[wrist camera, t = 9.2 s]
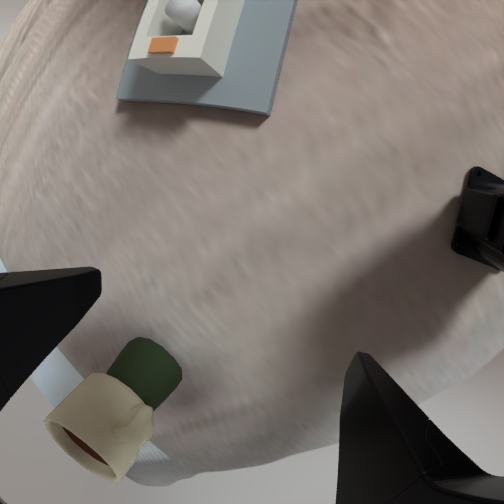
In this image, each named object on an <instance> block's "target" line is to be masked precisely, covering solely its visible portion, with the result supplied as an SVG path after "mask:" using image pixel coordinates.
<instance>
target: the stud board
mask: <svg viewBox="0 0 504 504" xmlns="http://www.w3.org/2000/svg"><path fill="white" fill-rule="evenodd" d="M297 1H298V0H245V1H244V5H243V8H242V11H241V14H240V18H239V21H238V24H237V28H236V31H235V34H234V38H233V41H232V45H231V49H230V52H229V56H228V60H227V63H226V67H225V71H224V75H223V77H216V76H202V75H183V74H158V73H156V72H154V71H152V70H150V69H148V68H146V67H143V66H141V65H139V64H137V63H135V62H133V61H131V60H128V57H129V54H130V50H131V47H132V44H133V41H134V38H135V35H136V32H137V29H138V26H139V24H140V21H141V18H142V16H143V13H144V10H145V8H146V5H147V3H148V0H147V2H146V4H145V7H144V9H143V12H142V14H141V17H140V20H139V23H138V25H137V28H136V31H135V34H134V37H133V40H132V43H131V46H130V49H129V52H128V55H127V59H126V62H125V66H124V69H123V73H122V77H121V80H120V84H119V88H118V92H117V97H116V99H119V100H123V101H143V102H163V103H177V104H189V105H199V106H208V107H216V108H224V109H231V110H237V111H244V112H250V113H256V114H261V115H267V116H270V114H271V110H272V105H273V101H274V97H275V92H276V88H277V84H278V79H279V75H280V71H281V67H282V62H283V58H284V54H285V50H286V46H287V42H288V37H289V33H290V29H291V25H292V21H293V17H294V13H295V9H296V5H297ZM202 5H203V2H198V1H197V0H170V1H169V2H168V3H167V5H166V7H165V13H166V15H167V16H168V17H170V18H171V19H172V20H173V21H174V22H175V23H177V24H178V25H179V26H180V27H181V28H182V29H183V30H182V33H181V35H192V34H193V31H194V28H195V25H196V22H197V19H198V16H199V13H200V10H201V7H202Z"/></svg>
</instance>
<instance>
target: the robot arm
mask: <svg viewBox="0 0 504 504" xmlns="http://www.w3.org/2000/svg"><path fill="white" fill-rule="evenodd" d="M476 171H478V173H479V175H478V176H477V175H476ZM458 243H459V247H458V248H456V245H457V244H458ZM451 249H452V250H453V251H454V252H456V253H458V254H460V255H463V256H466V257H468V258H471V259H474V260H476V261H479V262H481V263H484V264H486V265H489V266H491V267H494V268H496V269H499V270H501V271H503V272H504V180H503V179H501V178H499V177H497V176H496V175H494V174H492V173H490V172H488V171H487V170H485V169H483V168H481V167H478V166H475V167H473V168H472V169H471V173H470V178H469V182H468V187H467V189H466V190H465V193H464V197H463V201H462V205H461V208H460V212H459V216H458V219H457V227H456V231H455V234H454V237H453V240H452V243H451ZM101 291H102V284H101V271H100V270H98V269H96V268H94V267H78V268H64V269H50V270H36V271H22V272H10V273H8V272H7V273H0V411H1V410H2V408H3V407H4V406H5V405H6V403H7V402H8V401H9V400H10V398H11V397H12V396H13V395H14V394H15V392H16V391H17V390H18V389H19V388H20V386H21V385H22V384H23V383H24V382H25V380H26V379H27V378H28V377H29V376H30V375H31V374H32V373H33V371H34V370H35V369H36V368H37V367H38V366H39V365H40V364H41V362H42V361H43V360H44V359H45V358H46V357H47V356H48V355H49V354H50V353H51V352H52V350H53V349H54V348H55V347H56V346H57V345H58V344H59V343H60V342H61V341H62V340H63V339H64V338H65V337H66V336H67V335H68V334H69V332H70V331H71V330H72V329H73V328H74V327H75V326H76V325H77V324H78V323H79V322H80V320H81V319H82V318H83V317H84V315H85V314H86V313H87V312H88V310H89V309H90V308H91V307H92V306H93V304H94V303H95V302H96V301H97V299H98V298H99V297H100V295H101ZM0 504H7V503H5V502H4V501H3V500H2V499H1V498H0ZM336 504H504V477H500V476H494V475H491V474H488V473H487V472H485V471H483V470H482V469H481V468H480V467H478V465H476V464H475V463H474V462H473V461H472V460H471V459H470V458H469V457H468V456H467V455H466V454H464V453H463V452H462V451H461V450H460V449H459V448H458V447H457V446H456V445H455V444H454V443H453V442H452V441H451V440H449V439H448V438H447V437H446V436H445V435H444V434H443V433H442V432H441V431H440V429H439V428H438V427H437V426H436V425H435V424H434V423H433V422H432V421H431V420H429V417H427V416H426V414H425V413H424V412H423V411H422V410H421V409H420V408H419V407H418V406H417V404H416V403H415V402H414V401H413V400H412V399H411V398H410V397H409V396H408V395H407V394H406V393H405V392H404V390H403V389H402V388H401V387H400V386H399V385H398V384H397V383H396V382H395V381H394V380H393V379H392V378H391V377H390V376H389V374H388V373H387V372H386V371H385V370H384V369H383V368H382V367H381V366H380V365H379V364H378V363H377V362H376V361H375V360H374V358H373V357H372V356H371V355H370V354H367V353H362V352H357V353H356V354H355V356H354V358H353V360H352V362H351V364H350V366H349V368H348V369H347V372H346V374H345V379H344V388H343V397H342V405H341V412H340V435H339V462H338V481H337V494H336Z"/></svg>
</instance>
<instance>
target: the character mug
mask: <svg viewBox="0 0 504 504" xmlns="http://www.w3.org/2000/svg"><path fill="white" fill-rule="evenodd" d="M181 380H182V369H181V367H180V366H179V365H178V363H177V362H176V360H175V359H174V358H173V357H172V356H171V355H170V354H169V353H168V352H167V351H166V350H165V349H164V348H163V347H162V346H160V345H158V344H157V343H155V342H153V341H152V340H150V339H145V338H140V337H138V338H136V339H134V340H131V341H130V342H129V343H128V344H127V345H126V347H125V348H124V349H123V350H122V351H121V353H120V354H119V356H118V357H117V358H116V360H115V361H114V363H113V364H112V366H111V367H110V369H109V370H108V371H107V374H104V373H92V374H90V375H89V376H88V377H87V378H86V379H85V380H84V381H83V382H82V383H80V384H79V385H78V386H77V387H76V388H75V389H74V390H73V391H72V392H71V393H70V394H69V395H68V396H67V397H66V398H65V399H64V400H63V401H62V402H61V403H60V404H59V405H58V406H57V407H56V408H55V409H54V410H53V411H52V412H51V413H50V414H49V415H48V416H47V417H46V418H45V420H44V421H45V425H46V428H47V429H48V431H49V433H50V434H51V436H52V437H53V439H54V440H55V441H56V442H57V443H58V444H59V446H60V447H61V448H62V449H63V450H64V451H65V452H66V453H67V454H68V455H70V456H71V457H72V458H73V459H74V460H75V461H76V462H78V463H79V464H80V465H82V466H83V467H85V468H86V469H87V470H89V471H90V472H92V473H94V474H96V475H97V476H99V477H101V478H103V479H105V480H108V481H111V482H116V483H118V482H121V481H122V479H123V478H124V477H125V475H126V474H127V472H128V471H129V469H130V468H131V467H132V466H133V464H134V463H135V460H136V458H137V454H138V452H139V449H140V447H141V446H142V445H143V444H144V443H145V442H146V441H147V440H149V439H150V438H151V436H152V434H153V431H154V423H153V419H152V415H153V411H154V410H155V409H156V408H157V407H158V406H159V405H160V404H161V403H162V402H163V401H164V400H165V399H166V398H167V397H168V396H169V395H170V394H171V393H172V392H173V391H174V389H175V388H176V387H177V386H178V384H179V383H180V381H181Z"/></svg>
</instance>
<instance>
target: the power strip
mask: <svg viewBox="0 0 504 504" xmlns="http://www.w3.org/2000/svg"><path fill="white" fill-rule="evenodd" d="M169 1H170V0H148V3H147V5H146V8H145V10H144V13H143V16H142V18H141V21H140V24H139V26H138V29H137V32H136V35H135V38H134V41H133V44H132V47H131V50H130V54H129V57H128V60H131V61H133V62H135V63H137V64H139V65H141V66H143V67H146V68H148V69H150V70H152V71H154V72H156V73H158V74H183V75H202V76H216V77H223V75H224V71H225V67H226V63H227V60H228V56H229V52H230V49H231V45H232V41H233V38H234V34H235V31H236V28H237V24H238V21H239V18H240V14H241V11H242V8H243V5H244V1H245V0H197V1H198V2H203V5H202V7H201V10H200V13H199V16H198V19H197V22H196V25H195V28H194V31H193V34H192V35H181V33H182V30H183V29H182V28H181V27H180V26H179V25H178V24H177V23H175V22H174V21H173V20H172V19H171V18H170V17H168V16H167V15H166V13H165V7H166V5H167V3H168V2H169Z"/></svg>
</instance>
